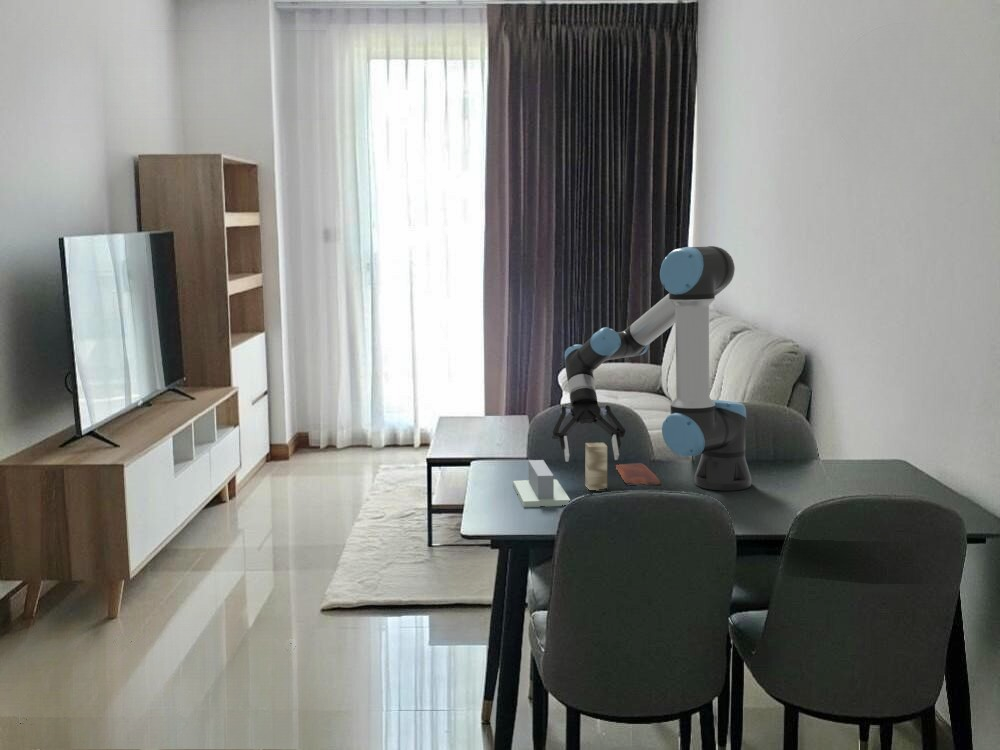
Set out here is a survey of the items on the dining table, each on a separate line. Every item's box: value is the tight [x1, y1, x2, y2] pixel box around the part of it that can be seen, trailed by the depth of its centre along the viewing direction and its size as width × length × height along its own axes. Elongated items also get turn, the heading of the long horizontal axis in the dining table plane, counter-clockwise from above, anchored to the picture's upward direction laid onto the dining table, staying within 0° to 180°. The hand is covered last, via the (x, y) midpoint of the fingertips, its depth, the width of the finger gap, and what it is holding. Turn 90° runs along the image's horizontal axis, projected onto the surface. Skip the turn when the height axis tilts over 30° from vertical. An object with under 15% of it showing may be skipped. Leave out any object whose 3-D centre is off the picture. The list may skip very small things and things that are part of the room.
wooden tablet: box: [615, 462, 661, 486], centre depth 312 cm, size 27×10×2 cm, turn 2°
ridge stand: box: [512, 459, 571, 508], centre depth 289 cm, size 22×12×8 cm, turn 6°
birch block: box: [584, 441, 608, 491], centre depth 296 cm, size 5×5×12 cm
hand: (592, 458), depth 297 cm, fingers open, 13 cm apart
